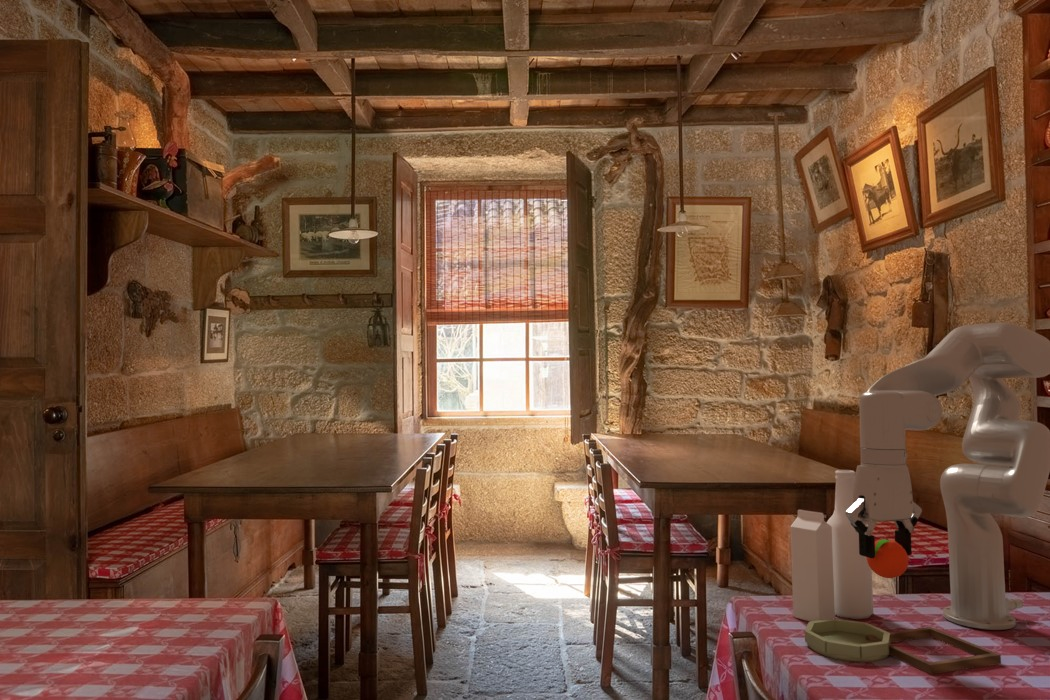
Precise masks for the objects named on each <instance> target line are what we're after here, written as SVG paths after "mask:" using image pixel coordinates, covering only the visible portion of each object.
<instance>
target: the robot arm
mask: <svg viewBox="0 0 1050 700" xmlns="http://www.w3.org/2000/svg"><path fill="white" fill-rule="evenodd" d="M1048 375H1050V340H1049V339H1048V338H1047V337H1045V336H1044V335H1041V333H1040V334H1039V333H1038V332H1035V331H1033V330H1031V329H1029V328H1026V327H1025V326H1023V325H1020V324H1016V323H1012V322H1002V321H1001V322H990V323H988V322H987V323H973V324H965V325H961V326H958V327H956V328H953V329H952V330H951V331H950V332H949V333H948V334H947V335H945V336H944V337H943V339H942V340H941V341H940V342H939V343H938V344H937V345H936V346H934V348H933V349H932V350H931V351H930V352H928V354H927V355H926V356H925V357H923V358H920V359H918V360H915V361H913V362H910V363H908V364H906V365H903V366H902V367H899V368H897V369H895V370H893V371H890V372H888V373H887V374H884V375H883V376H882V377H880V378H879V379H877V380H876V382H874V383H873V384H872V385H871V386H870V387H869V388H868V389H867V390H866V392H863V393H862V394H861V395H860V396H859V399H858V400H859V406H858V407H859V408H858V409H859V441H860V442H859V445H860V446H859V447H860V464H859V465H857V466H856V470H855V480H854V489H853V505H852V506H851V507H850V508H849V509H848V510H847V511H846V513H845V514H846V516H847V518H848V519H849V521H850V522H851V525H852V526H853V527H854V528H855V531H856V533H859V554H860V555H862V556H865V557H868V558H874V557H875V541H876V539H875V538H876V537H875V535H872V534H873V532H874V529H875V527H876V524H877V523H882V522H894V525H895V527H896V528H897V529H895V530H894V541H896V542H897V543H898V544H900V545H901V546H902V547H903V548H904V549H905V551H906V553H907V555H908V556H912V550H913V549H912V534H913V533H914V532H915V526H916V525H917V524H918V521H919V518H920V516H921V514H922V512H923V509H922V508H921V506H919V505H918V503H916V502H915V501H914V498H913V488H912V487H913V486H912V481H911V476H910V470H909V467H908V466H907V458H909V457H908V456H909V454H908V452H907V451H906V449H907V448H906V431H927V430H930V429H933V428H934V427H936V426H937V425H938V424H939V422H940V421H941V419H942V416H943V405H942V404H941V401H940V400H939V398H937V396H940V395H944V394H948V393H951V392H953V391H957V389H960V387H962V386H963V385H964V384H965V383H966V382H967V380H969V382H970V386H971V389H972V392H973V398H974V399H973V405H972V409H971V412H970V415H969V418H968V421H967V424H966V427H965V431H964V434H963V438H962V443H961V449H962V450H961V451H962V454H963V456H964V457H966V459H967V460H969V461H971V462H972V463H956V464H953V465H950V466H948V467H946V468H945V469H944V471H943V472H942V473H941V475H940V480H939V485H940V486H939V487H940V488H939V489H940V493H941V496H942V501H943V506H944V508H945V515H946V522H947V542H948V543H947V545H948V563H949V586H950V588H949V589H950V605H948V606H946V607H944V608H942V616H943V617H944V618H945V619H946V620H948V621H949V622H952V623H955V624H956V625H957V624H958V625H960V626H963V627H968V628H974V629H978V630H979V629H980V630H989V631H990V630H991V631H1002V630H1010V629H1013V628H1015V627H1016V625H1017V623H1016V622H1017V620H1016V618H1015V617H1014V616H1013V615H1011V614H1010V612H1011V611H1012V610H1015V609H1016V610H1017V609H1022V608H1023V607H1024V602H1023V600H1022V599H1020V598H1019V597H1017V598H1011V599H1009V598H1007V597H1006V584H1005V583H1006V582H1005V563H1004V562H1005V561H1004V559H1005V558H1004V539H1003V538H1004V537H1003V534H1002V531H1001V527H999V525H998V523H997V522H996V520H995V518H994V517H993V516H992V515H991V514H993V515H998V516H999V515H1001V516H1007V517H1014V518H1029V517H1031V516H1034V515H1035V514H1036V513H1038V511H1039V509H1040V507H1041V504H1042V501H1043V498H1044V494H1045V490H1046V487H1047V483H1048V479H1049V475H1050V429H1049V428H1048V427H1047V426H1046V425H1045V424H1044V423H1041V422H1039V421H1034V420H1024V419H1023V420H1022V419H1020V414H1021V411H1022V403H1021V400H1020V399H1019V397H1018V396H1017V394H1016V393H1015V392H1014V391H1013V390H1012V388H1011V387H1009V386H1008V384H1007V383H1006V382H1005V381H1004V379H1037V378H1044V377H1047V376H1048ZM976 463H977V464H976ZM859 518H860V519H859ZM866 523H867V526H865V525H866Z"/></svg>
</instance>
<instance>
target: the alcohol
mask: <svg viewBox="0 0 1050 700" xmlns="http://www.w3.org/2000/svg"><path fill="white" fill-rule="evenodd" d="M834 474H835V476H834V478H835V492H834V493H835V494H834V495H835V496H834V510H833V513H832V515H831V516H830V517H829V518H828V519H827V521H826V523H828V524H829V525H830V526H831V527H832V550H833V577H834V604H835V616H836V615H837V616H836V617H839V616H840V618H843V617H845V618H844V619H848V618H851V619H850V620H865V619H869V618H870V617H872V615H873V613H874V597H873V596H874V594H873V593H874V592H873V590H874V589H873V571H872V569H871V568H870V567H869V565H868V563H867V558H866V557H865V556H862V555H860V554H859V533H856V531H855V528H854V527H853V526H852V525H851V522H850V521H849V519H848V518H847V516H846V514H845V513H846V511H847V510H848V509H849V508H850V507H851V506H852V505H853V489H854V480H855V474H856V471H854V470H851V469H837V470H835V471H834ZM859 519H860V518H859ZM867 524H868V522H866V525H865V526H867Z"/></svg>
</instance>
